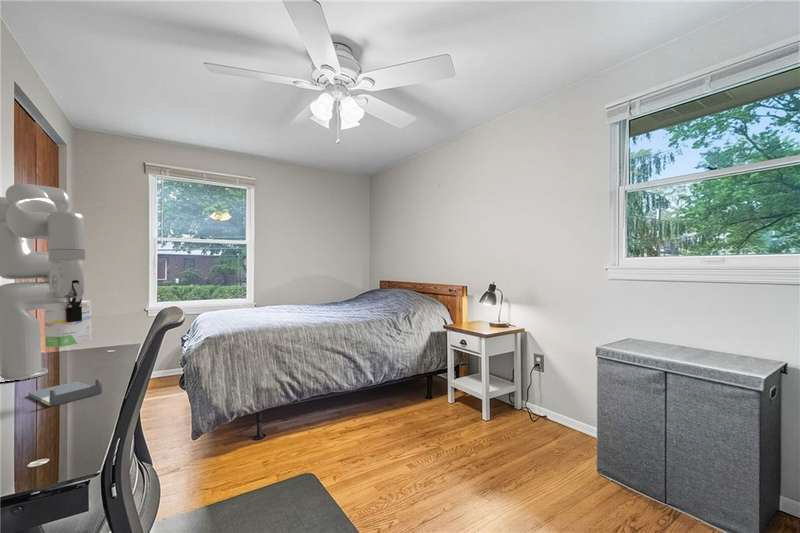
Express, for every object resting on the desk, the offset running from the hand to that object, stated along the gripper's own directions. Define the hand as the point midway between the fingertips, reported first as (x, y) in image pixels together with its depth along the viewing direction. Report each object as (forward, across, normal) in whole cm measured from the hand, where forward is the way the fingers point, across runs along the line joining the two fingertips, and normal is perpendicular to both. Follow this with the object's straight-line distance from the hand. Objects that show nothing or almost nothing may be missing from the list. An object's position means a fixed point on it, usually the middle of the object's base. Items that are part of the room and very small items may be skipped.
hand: (69, 320), depth 100 cm
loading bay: (+21, -4, 0) cm, 22 cm away
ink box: (+7, 0, 0) cm, 7 cm away
